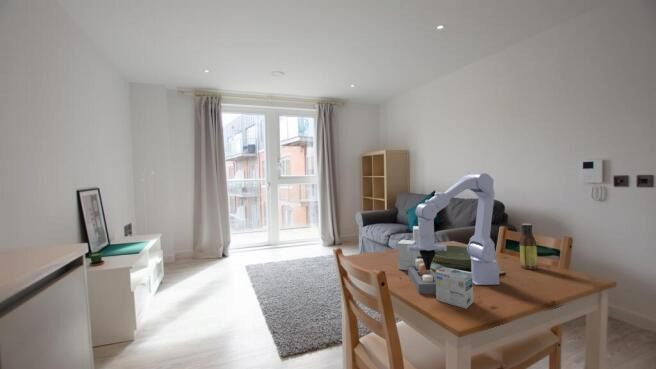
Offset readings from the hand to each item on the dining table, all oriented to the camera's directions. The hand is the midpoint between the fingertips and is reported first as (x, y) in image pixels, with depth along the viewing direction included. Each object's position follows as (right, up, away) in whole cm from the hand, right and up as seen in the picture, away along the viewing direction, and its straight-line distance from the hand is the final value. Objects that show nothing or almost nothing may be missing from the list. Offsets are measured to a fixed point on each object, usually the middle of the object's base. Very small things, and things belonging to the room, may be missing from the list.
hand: (427, 269), depth 114 cm
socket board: (+1, -7, +6) cm, 10 cm away
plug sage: (+1, -4, +12) cm, 13 cm away
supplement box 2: (+13, -5, +45) cm, 47 cm away
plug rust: (+1, -4, +6) cm, 8 cm away
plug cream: (0, -7, 0) cm, 7 cm away
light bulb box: (+6, -8, -11) cm, 15 cm away
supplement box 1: (-1, -7, +25) cm, 26 cm away
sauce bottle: (+52, -5, +18) cm, 55 cm away
